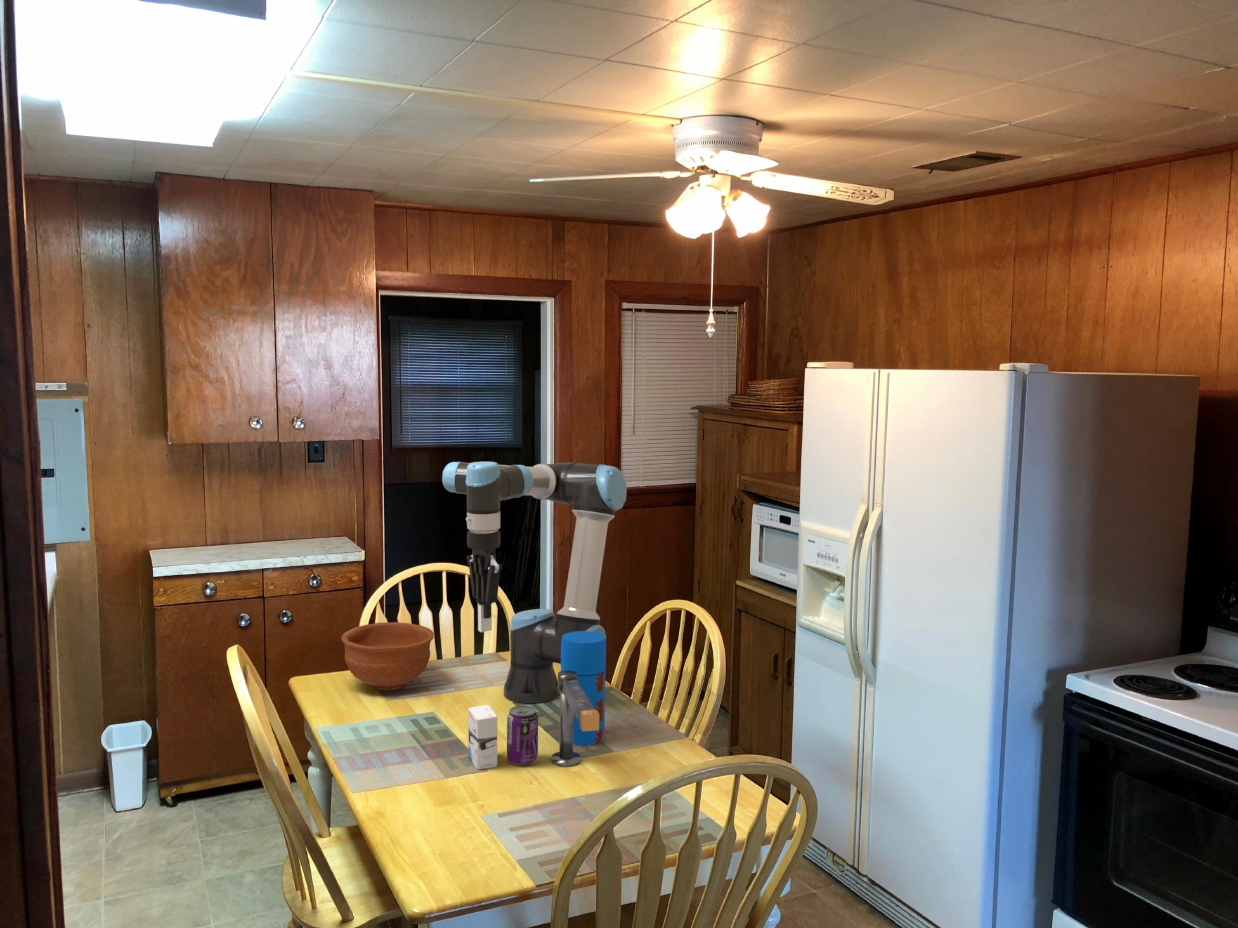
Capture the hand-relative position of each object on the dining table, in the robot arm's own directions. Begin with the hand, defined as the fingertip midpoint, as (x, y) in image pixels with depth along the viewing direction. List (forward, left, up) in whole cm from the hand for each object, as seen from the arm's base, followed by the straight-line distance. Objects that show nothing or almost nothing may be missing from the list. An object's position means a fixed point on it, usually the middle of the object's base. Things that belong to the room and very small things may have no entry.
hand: (485, 630), depth 222 cm
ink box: (+4, +5, -29) cm, 30 cm away
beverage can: (-3, +10, -29) cm, 31 cm away
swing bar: (-5, +27, -12) cm, 30 cm away
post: (-11, +17, -29) cm, 35 cm away
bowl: (-7, -54, -29) cm, 62 cm away
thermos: (-23, +9, -29) cm, 38 cm away
